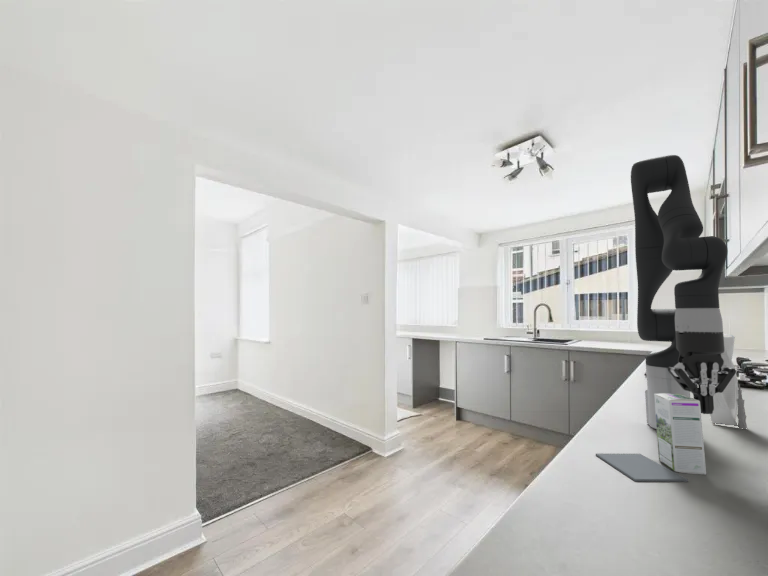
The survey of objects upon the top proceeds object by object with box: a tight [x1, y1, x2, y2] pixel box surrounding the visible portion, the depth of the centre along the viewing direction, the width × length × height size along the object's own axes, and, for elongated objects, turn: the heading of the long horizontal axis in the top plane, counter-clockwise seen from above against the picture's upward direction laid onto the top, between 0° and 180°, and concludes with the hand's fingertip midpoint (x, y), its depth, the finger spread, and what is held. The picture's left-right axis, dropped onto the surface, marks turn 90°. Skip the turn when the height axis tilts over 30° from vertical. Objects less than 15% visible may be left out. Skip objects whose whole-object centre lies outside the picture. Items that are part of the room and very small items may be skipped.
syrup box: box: [654, 393, 707, 476], centre depth 71 cm, size 6×6×14 cm
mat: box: [595, 453, 689, 483], centre depth 70 cm, size 12×10×1 cm
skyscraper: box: [706, 333, 748, 429], centre depth 100 cm, size 8×8×28 cm
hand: (704, 412), depth 71 cm, fingers closed
